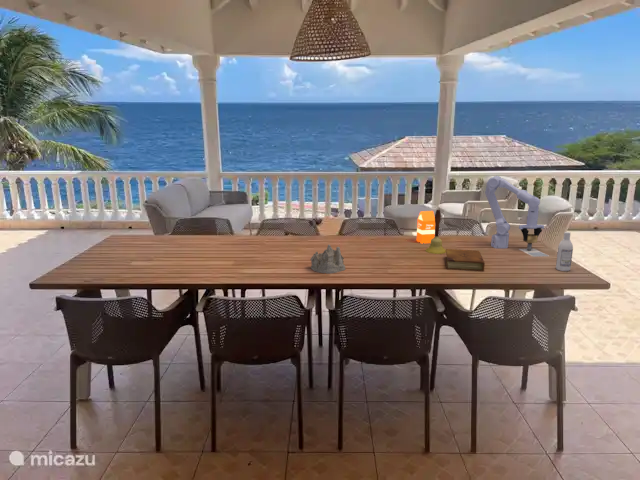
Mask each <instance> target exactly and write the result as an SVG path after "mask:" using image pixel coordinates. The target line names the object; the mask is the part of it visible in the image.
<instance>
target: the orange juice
mask: <svg viewBox="0 0 640 480" xmlns="http://www.w3.org/2000/svg"><path fill="white" fill-rule="evenodd" d="M434 237H435V213H434V210H424V211H422V210H421V211H419V214H418V217H417V225H416V242H417V243H419V242H420V244H422V245H423V243H424V244H431V239H433V238H434Z"/></svg>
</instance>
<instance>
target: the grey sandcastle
mask: <svg viewBox="0 0 640 480" xmlns="http://www.w3.org/2000/svg"><path fill="white" fill-rule="evenodd" d="M344 259H345V257H344V256H343V255H342V252H341V247H340V246H337V247H336V248H335V249H333V247H332V246H331V244H327V247H326V249H324V251H323V252H322V253H319V252H318V251H315V253H313V255H312V256H311V257H310V261H311V263H310V264H311V265H310V269H311V270H313V272H316V273H321V274H325V273H326V274H337V273H340V272H342V271H343V272H344V271H345V270H347V269H346V265H345V264H344Z"/></svg>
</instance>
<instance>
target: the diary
mask: <svg viewBox="0 0 640 480" xmlns="http://www.w3.org/2000/svg"><path fill="white" fill-rule="evenodd" d="M445 250H446V253H445V255H446V256H445V257H444V259H445V265H446V270H453V271H454V270H455V271H471V272H473V271H474V272H484V271H485V267H486V266H485V261H484V259H483V256H482V253H481V251H480V250H478V249H477V250H476V249H474V250H473V249H453V248H445Z"/></svg>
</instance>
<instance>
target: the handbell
mask: <svg viewBox="0 0 640 480" xmlns="http://www.w3.org/2000/svg"><path fill="white" fill-rule="evenodd" d="M435 210H436V211H435V213H434V217H435V236H434V238H433V239H431V243H429V244H430V245H429V246H428V247H427V248H425V252H426V253H429V254H434V255H442V254H443V255H444V254H446V248H444V247H443V240H442V239H441V238H440V236H439V235H440V234H439V233H440V223H441V220H442V219H441V217H442V213H441V210H440V209H435Z"/></svg>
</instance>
